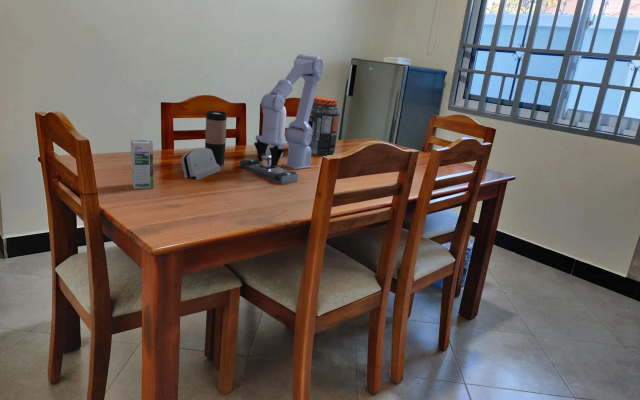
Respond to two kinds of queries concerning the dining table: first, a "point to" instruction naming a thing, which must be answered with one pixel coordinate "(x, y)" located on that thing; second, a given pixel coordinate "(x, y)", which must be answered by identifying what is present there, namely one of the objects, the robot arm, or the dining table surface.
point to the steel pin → (266, 161)
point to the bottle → (279, 129)
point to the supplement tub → (323, 125)
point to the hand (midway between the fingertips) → (267, 163)
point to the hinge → (199, 163)
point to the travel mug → (216, 134)
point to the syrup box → (142, 163)
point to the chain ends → (269, 171)
